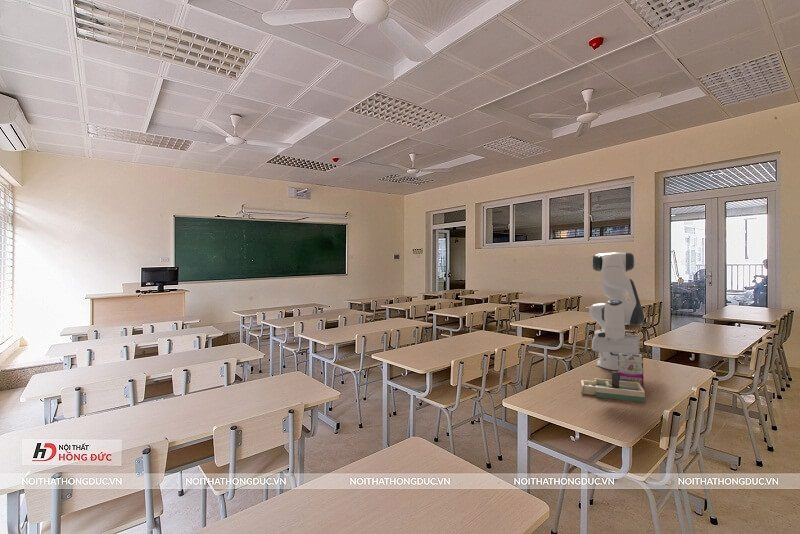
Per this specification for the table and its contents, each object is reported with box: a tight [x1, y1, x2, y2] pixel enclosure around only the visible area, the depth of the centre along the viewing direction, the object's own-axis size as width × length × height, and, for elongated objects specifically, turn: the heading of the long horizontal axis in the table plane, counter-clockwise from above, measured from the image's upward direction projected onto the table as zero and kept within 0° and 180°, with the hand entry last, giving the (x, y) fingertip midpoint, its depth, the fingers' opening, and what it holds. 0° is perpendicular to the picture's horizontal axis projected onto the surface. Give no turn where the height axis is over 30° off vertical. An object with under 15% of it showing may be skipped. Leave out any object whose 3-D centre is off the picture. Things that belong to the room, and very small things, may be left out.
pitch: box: [580, 377, 646, 403], centre depth 180 cm, size 14×26×5 cm, turn 66°
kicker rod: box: [605, 370, 619, 389], centre depth 180 cm, size 5×6×8 cm
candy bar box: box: [617, 353, 645, 388], centre depth 192 cm, size 11×5×16 cm, turn 62°
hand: (615, 361), depth 179 cm, fingers open, 8 cm apart
